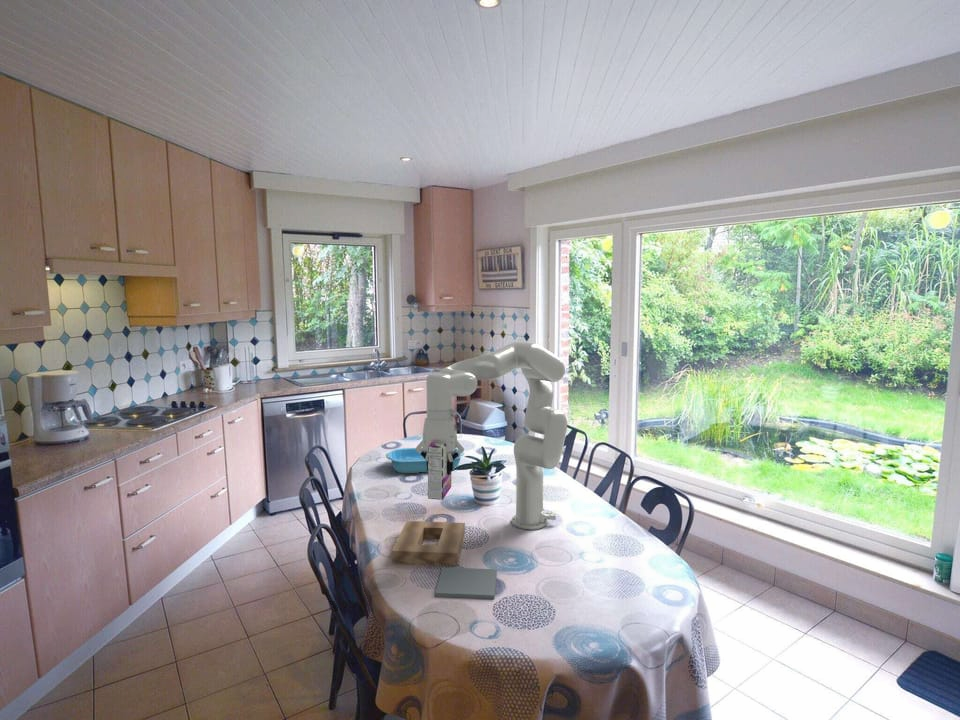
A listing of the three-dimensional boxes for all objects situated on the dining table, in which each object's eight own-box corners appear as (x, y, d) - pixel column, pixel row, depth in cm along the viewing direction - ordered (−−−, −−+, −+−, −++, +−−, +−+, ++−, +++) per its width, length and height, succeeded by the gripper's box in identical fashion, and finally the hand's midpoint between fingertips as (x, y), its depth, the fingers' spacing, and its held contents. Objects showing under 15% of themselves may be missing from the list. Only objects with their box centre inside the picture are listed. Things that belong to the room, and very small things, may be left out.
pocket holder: (464, 534, 186) (464, 522, 185) (457, 565, 164) (457, 553, 163) (406, 532, 187) (406, 520, 187) (391, 563, 165) (391, 550, 165)
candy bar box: (436, 486, 172) (437, 435, 170) (451, 487, 172) (452, 436, 170) (426, 499, 162) (427, 445, 159) (442, 500, 161) (444, 446, 159)
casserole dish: (459, 458, 272) (459, 444, 272) (468, 472, 251) (468, 457, 250) (385, 462, 265) (384, 448, 264) (387, 477, 243) (386, 462, 242)
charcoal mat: (496, 572, 160) (496, 569, 160) (494, 598, 146) (494, 595, 146) (442, 570, 161) (442, 567, 161) (435, 596, 147) (435, 592, 147)
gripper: (469, 412, 166) (469, 470, 168) (414, 411, 168) (415, 468, 170) (466, 417, 159) (466, 478, 161) (408, 416, 161) (409, 476, 163)
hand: (440, 472), depth 166 cm, fingers closed on candy bar box, 5 cm apart
